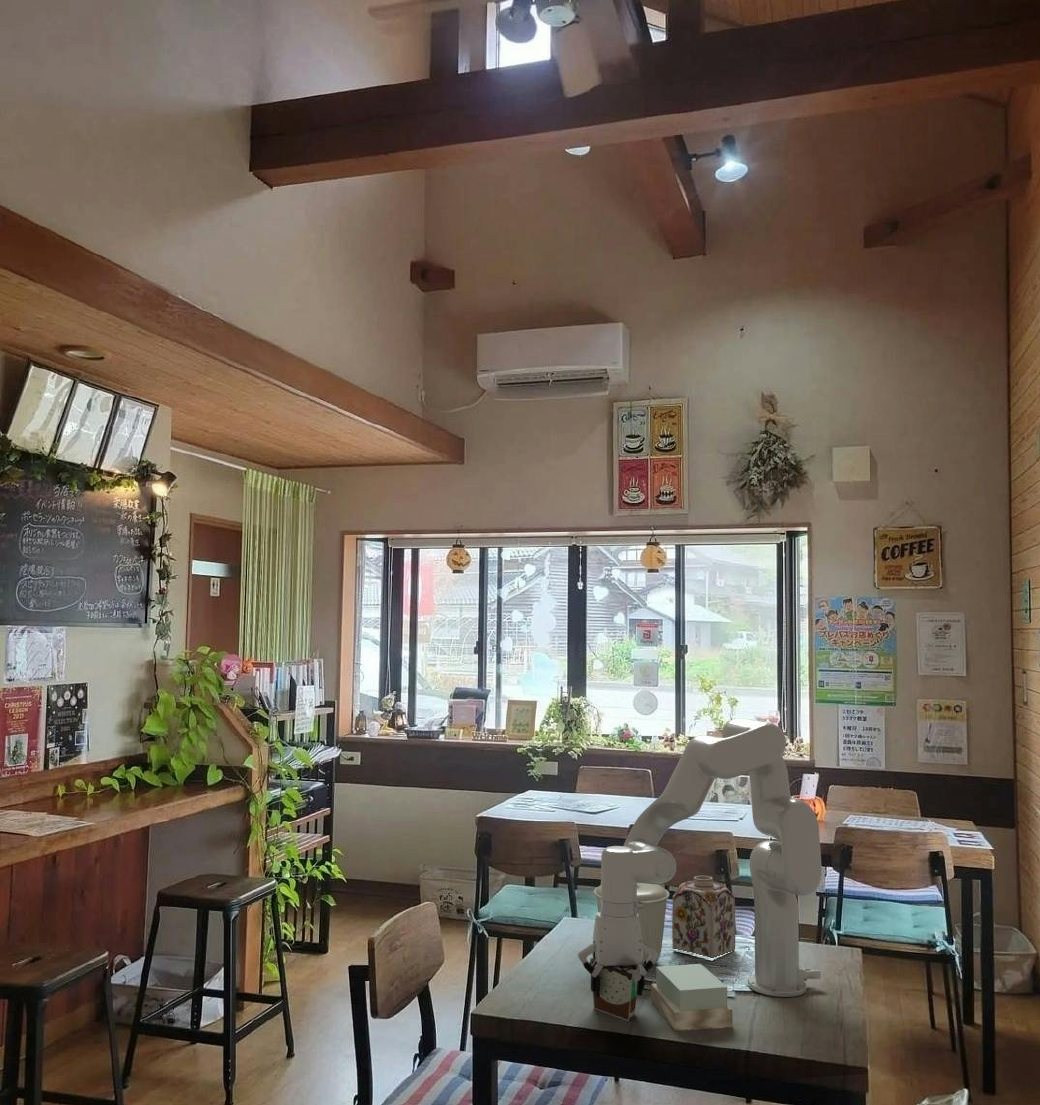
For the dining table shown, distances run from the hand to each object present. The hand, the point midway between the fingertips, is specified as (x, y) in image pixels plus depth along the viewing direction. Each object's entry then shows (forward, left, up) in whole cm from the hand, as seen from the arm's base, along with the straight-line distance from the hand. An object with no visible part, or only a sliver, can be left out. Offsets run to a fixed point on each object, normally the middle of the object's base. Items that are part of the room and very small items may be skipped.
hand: (617, 994), depth 204 cm
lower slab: (-15, +3, -4) cm, 16 cm away
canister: (-11, -29, -4) cm, 31 cm away
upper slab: (-15, +3, 0) cm, 15 cm away
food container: (-1, 0, -4) cm, 4 cm away
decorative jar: (-31, -35, -4) cm, 47 cm away
